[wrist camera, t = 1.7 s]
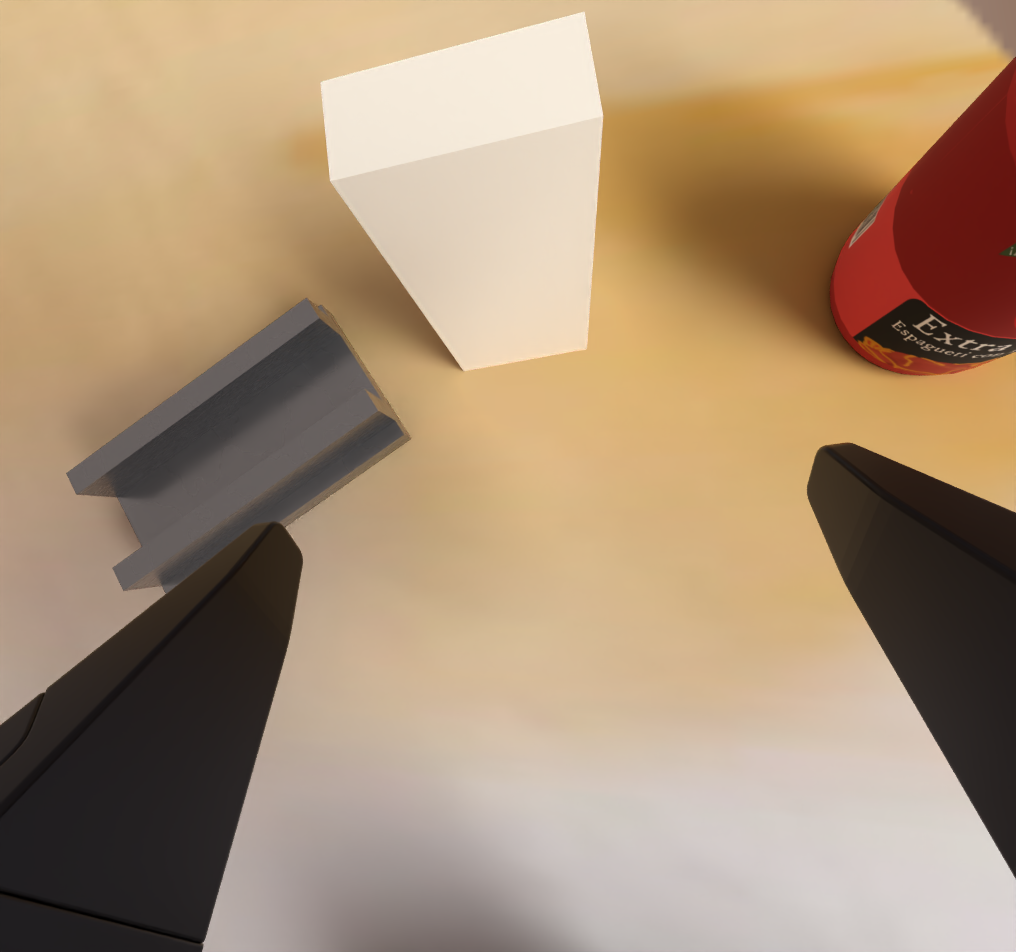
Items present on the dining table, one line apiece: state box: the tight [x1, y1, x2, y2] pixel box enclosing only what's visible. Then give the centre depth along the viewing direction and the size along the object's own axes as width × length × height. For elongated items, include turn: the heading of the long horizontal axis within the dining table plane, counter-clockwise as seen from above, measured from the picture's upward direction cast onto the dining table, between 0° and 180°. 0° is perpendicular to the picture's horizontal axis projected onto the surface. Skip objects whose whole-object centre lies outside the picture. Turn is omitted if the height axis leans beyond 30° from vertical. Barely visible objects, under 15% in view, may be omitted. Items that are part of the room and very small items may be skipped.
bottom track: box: [66, 298, 411, 594], centre depth 23 cm, size 8×14×3 cm, turn 124°
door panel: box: [321, 12, 603, 371], centre depth 17 cm, size 3×6×13 cm, turn 98°
